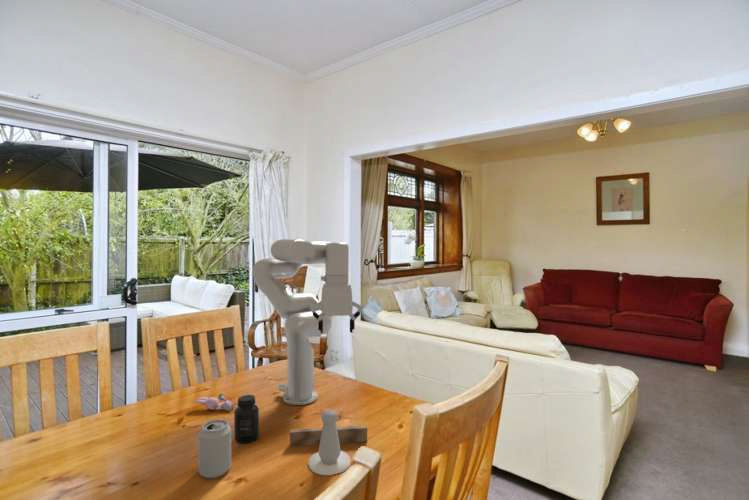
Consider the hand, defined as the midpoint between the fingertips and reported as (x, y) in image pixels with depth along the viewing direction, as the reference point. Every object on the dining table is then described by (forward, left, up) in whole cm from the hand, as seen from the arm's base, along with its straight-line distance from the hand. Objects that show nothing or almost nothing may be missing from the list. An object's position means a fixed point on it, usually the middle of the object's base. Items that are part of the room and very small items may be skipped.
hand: (336, 332), depth 124 cm
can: (-18, -36, -28) cm, 49 cm away
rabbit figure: (-41, -7, -29) cm, 51 cm away
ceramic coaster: (+8, -24, -28) cm, 38 cm away
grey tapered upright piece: (+8, -24, -28) cm, 38 cm away
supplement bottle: (-20, -20, -28) cm, 40 cm away
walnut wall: (+4, -15, -28) cm, 32 cm away
